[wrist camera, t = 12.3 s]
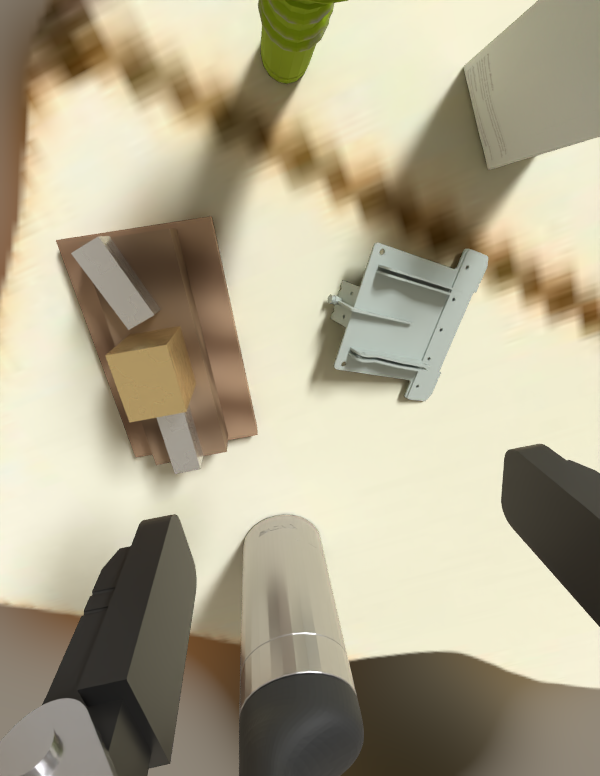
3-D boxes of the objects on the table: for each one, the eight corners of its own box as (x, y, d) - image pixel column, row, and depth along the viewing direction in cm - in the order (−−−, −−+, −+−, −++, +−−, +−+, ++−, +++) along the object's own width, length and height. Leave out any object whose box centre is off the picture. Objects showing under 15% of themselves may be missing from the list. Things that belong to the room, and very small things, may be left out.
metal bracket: (327, 396, 33) (389, 213, 28) (301, 370, 38) (350, 210, 33) (445, 409, 40) (512, 262, 35) (410, 386, 45) (465, 254, 40)
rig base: (257, 427, 40) (258, 450, 36) (139, 449, 39) (126, 475, 35) (211, 216, 32) (206, 214, 28) (64, 239, 31) (35, 241, 27)
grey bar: (203, 455, 35) (200, 468, 33) (157, 463, 35) (151, 478, 33) (139, 231, 28) (130, 231, 26) (80, 240, 27) (66, 241, 25)
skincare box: (547, 140, 33) (760, 75, 19) (481, 173, 33) (644, 133, 19) (528, 23, 30) (769, -156, 16) (455, 61, 30) (629, -82, 16)
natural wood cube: (129, 334, 30) (105, 355, 25) (180, 325, 30) (166, 344, 25) (148, 392, 32) (129, 422, 27) (196, 383, 32) (186, 412, 27)
